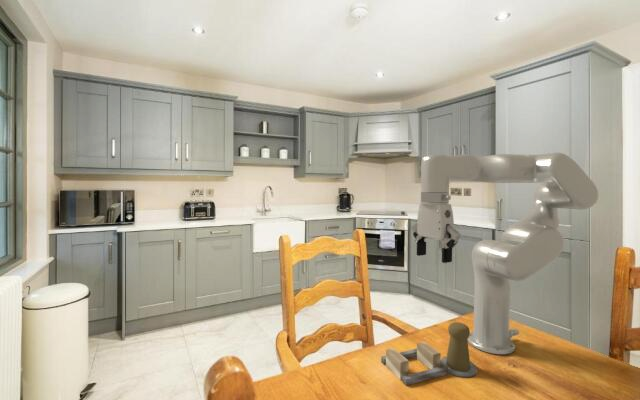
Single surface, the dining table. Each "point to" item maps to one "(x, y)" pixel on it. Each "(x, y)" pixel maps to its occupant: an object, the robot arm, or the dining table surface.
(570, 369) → the dining table surface
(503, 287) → the robot arm
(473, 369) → the coaster
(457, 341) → the pepper mill
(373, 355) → the dining table surface
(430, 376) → the grey and cream frame
